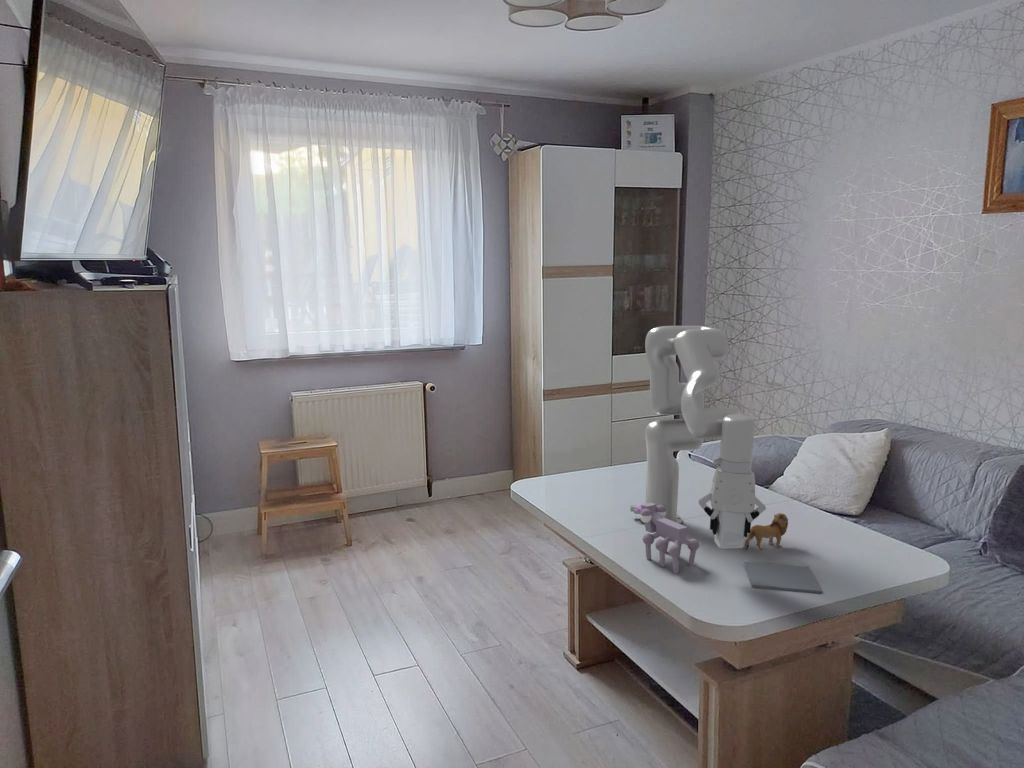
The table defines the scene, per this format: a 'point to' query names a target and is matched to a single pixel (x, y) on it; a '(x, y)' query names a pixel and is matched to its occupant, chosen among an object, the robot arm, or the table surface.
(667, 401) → the robot arm
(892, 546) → the table surface
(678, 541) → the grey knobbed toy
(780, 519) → the lion figurine
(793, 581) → the mat
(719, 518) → the skincare box
